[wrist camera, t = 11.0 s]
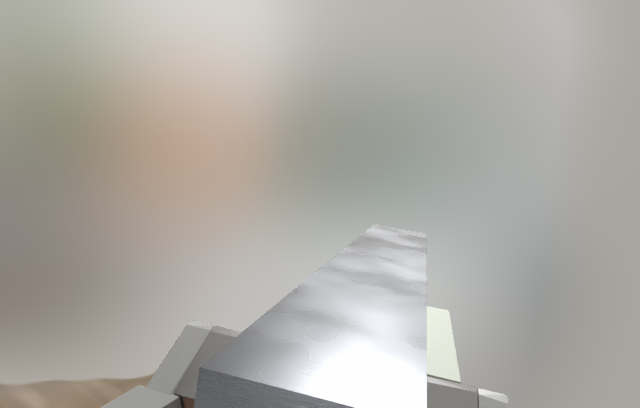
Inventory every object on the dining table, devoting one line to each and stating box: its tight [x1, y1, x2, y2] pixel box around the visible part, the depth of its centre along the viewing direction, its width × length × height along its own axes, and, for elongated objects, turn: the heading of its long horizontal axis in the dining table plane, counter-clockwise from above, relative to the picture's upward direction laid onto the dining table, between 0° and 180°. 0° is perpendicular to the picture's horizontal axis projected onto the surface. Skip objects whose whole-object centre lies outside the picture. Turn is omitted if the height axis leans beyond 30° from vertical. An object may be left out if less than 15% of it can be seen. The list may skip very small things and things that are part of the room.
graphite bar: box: [194, 225, 427, 408], centre depth 17 cm, size 22×3×3 cm, turn 167°
